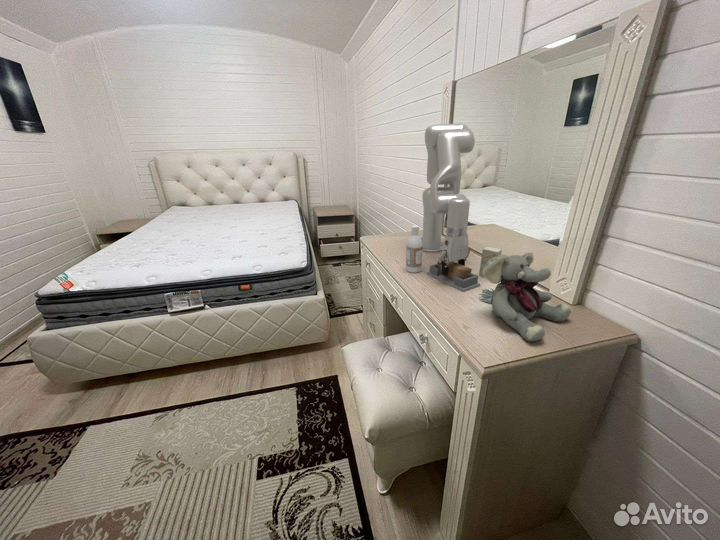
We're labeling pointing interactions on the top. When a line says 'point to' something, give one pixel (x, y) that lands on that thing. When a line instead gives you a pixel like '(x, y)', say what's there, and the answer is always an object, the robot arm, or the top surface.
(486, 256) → the skincare box
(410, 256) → the bath foam
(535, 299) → the plush elephant
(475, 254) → the top surface
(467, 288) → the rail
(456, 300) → the top surface
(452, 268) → the slat
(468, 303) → the top surface
